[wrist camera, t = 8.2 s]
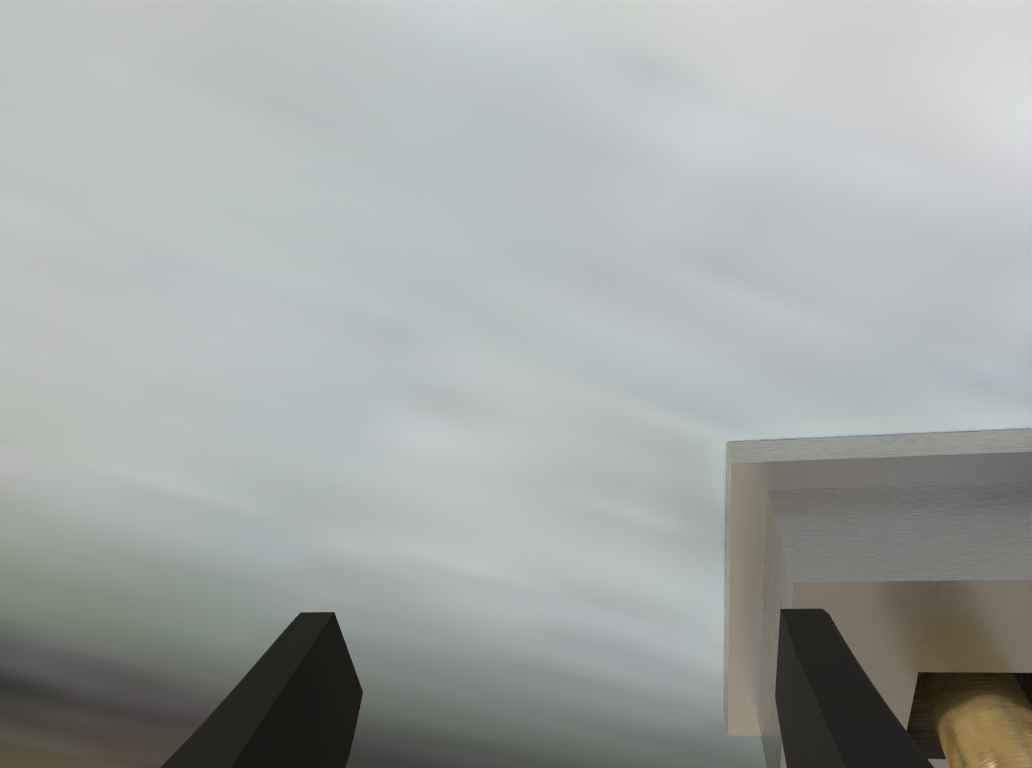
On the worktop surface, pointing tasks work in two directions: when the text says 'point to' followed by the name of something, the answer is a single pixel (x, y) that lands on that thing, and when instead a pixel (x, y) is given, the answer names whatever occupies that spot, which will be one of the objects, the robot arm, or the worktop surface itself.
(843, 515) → the chuck block
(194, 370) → the worktop surface
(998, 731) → the brass cylinder rod
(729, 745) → the worktop surface
